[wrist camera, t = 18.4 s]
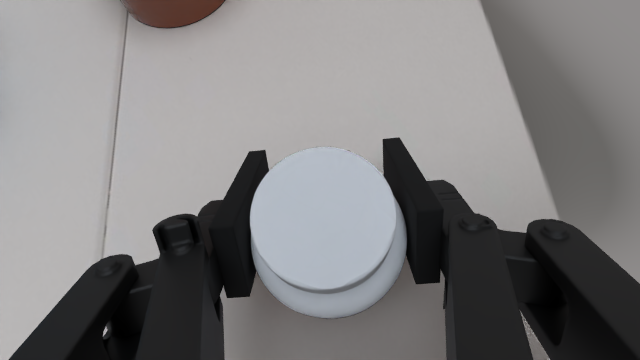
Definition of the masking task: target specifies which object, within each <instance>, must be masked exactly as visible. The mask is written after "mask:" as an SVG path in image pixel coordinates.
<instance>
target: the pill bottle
mask: <svg viewBox="0 0 640 360" xmlns="http://www.w3.org/2000/svg"><path fill="white" fill-rule="evenodd" d="M250 228H251V251H252V257H253V261H254V265H255V268H256V270H257V273H258V275H259V277H260V279H261V280H262V282H263V283H264V285H265V286H266V288H267V289H268V290H269V291H270V293H271V294H272V295H273V296H274V297H275V298H277V299H278V300H279V301H280V302H281V303H283V304H284V305H285V306H287V307H289V308H290V309H292V310H294V311H296V312H299V313H302V314H305V315H308V316H313V317H318V318H325V319H331V318H343V317H348V316H352V315H355V314H358V313H360V312H362V311H364V310H366V309H368V308H369V307H371V306H373V305H374V304H375V303H376V302H378V301H379V300H380V299H381V298H383V296H384V295H385V294H386V293H387V292H388V291H389V290H390V288H391V287H392V286H393V284H394V283H395V281H396V279H397V277H398V276H399V274H400V272H401V269H402V266H403V264H404V260H405V255H406V250H407V230H406V224H405V220H404V216H403V213H402V211H401V208H400V206H399V204H398V202H397V200H396V199H395V197H394V196H393V193H392V191H391V188H390V186H389V184H388V183H387V181H386V179H385V178H384V176H383V175H382V174H381V173H380V171H379V170H378V169H377V168H376V167H375V166H374V165H373V164H372V163H370V162H369V161H367V160H366V159H365V158H363V157H361V156H360V155H357V154H355V153H353V152H351V151H348V150H344V149H340V148H334V147H315V148H309V149H305V150H301V151H298V152H296V153H294V154H291V155H289V156H288V157H286V158H284V159H283V160H281V161H280V162H278V163H277V164H276V165H275V166H274V167H273V168H272V169H271V170H270V171H269V172H268V173H267V174H266V175H265V177H264V178H263V180H262V181H261V183H260V184H259V186H258V188H257V190H256V192H255V194H254V198H253V201H252V205H251V211H250Z"/></svg>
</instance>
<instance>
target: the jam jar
mask: <svg viewBox="0 0 640 360" xmlns="http://www.w3.org/2000/svg"><path fill="white" fill-rule="evenodd" d="M120 1H121V2H122V3H123V5H124V6H125V7H126V9H127V10H128V11H129V13H130V14H131V15H132V16H133V17H134V18H136V19H137V20H139V21H140V22H142V23H144V24H147V25H150V26H154V27H160V28H172V27H180V26H184V25H188V24H191V23H194V22H196V21H199V20H201V19H203V18H205V17H206V16H208V15H209V14H211V13H212V12H213V11H215V10H216V9H217V8H218V7H219V6H220V5H221V4H222V3H223V2H224V1H225V0H120Z"/></svg>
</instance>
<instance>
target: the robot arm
mask: <svg viewBox="0 0 640 360" xmlns="http://www.w3.org/2000/svg"><path fill="white" fill-rule="evenodd" d="M383 167H384V178H385V179H386V181H387V183H388V184H389V186H390V188H391V191H392V193H393V196H394V197H395V199H396V200H397V202H398V204H399V206H400V208H401V211H402V213H403V216H404V220H405V224H406V230H407V250H406V257H407V260H408V262H409V265H410V268H411V271H412V274H413V277H414V280H415V283H416V284H428V283H440V271H441V270H442V273H443V275H444V277H445V288H444V304H443V309H445V326H446V357H447V360H533V357H532V353H531V349H530V346H529V342H528V339H527V335H526V331H525V328H524V324H523V320H522V317H521V313H520V311H521V312H522V314H523V316H524V317H525V319H526V320H527V322H528V324H529V325H530V327H531V329H532V330H533V332H534V333H535V335H536V337H537V338H538V340H539V342H540V343H541V345H542V346H543V348H544V350H545V351H546V353H547V354H548V356H549V358H550V359H551V360H640V284H639V283H638V282H637V281H636V280H635V279H634V278H633V277H631V276H630V275H629V274H628V273H627V272H626V271H625V270H624V269H623V268H621V267H620V266H619V265H618V264H617V263H616V262H615V261H614V260H612V259H611V258H610V257H609V256H608V255H607V254H606V253H605V252H603V251H602V250H601V249H600V248H599V247H598V246H597V245H596V244H595V243H593V242H592V241H591V240H590V239H589V238H588V237H587V236H586V235H585V234H583V233H582V232H581V231H580V230H578V229H577V228H575V227H574V226H572V225H570V224H567V223H565V222H563V221H559V220H553V219H541V220H535V221H533V222H531V223H529V224H528V227H527V232H526V233H520V232H511V231H503V230H499V229H497V226H496V224H495V223H494V221H493V220H491V219H489V218H488V217H486V216H483V215H480V214H475V213H474V212H473V211H472V209H471V208H470V207H469V205H468V204H467V203H466V202H465V200H464V199H462V196H461V195H460V194H459V193H458V191H457V190H456V188H455V187H454V186H453V185H452V184H450V183H448V182H446V181H444V180H435V181H426V180H425V178H424V176H423V175H422V173H421V172H420V170H419V168H418V167H417V165H416V163H415V162H414V160H413V159H412V157H411V155H410V154H409V152H408V151H407V149H406V147H405V146H404V144H403V143H402V141H401V139H400V138H390V139H383ZM268 172H269V168H268V163H267V157H266V151H265V150H261V151H250V152H249V153H248V155H247V157H246V159H245V160H244V162H243V164H242V166H241V168H240V170H239V172H238V173H237V175H236V177H235V179H234V181H233V183H232V185H231V186H230V188H229V190H228V192H227V194H226V196H225V198H224V200H215V201H211V202H209V203H208V204H207V205H205V206H204V207H203V208H202V209H201V211H200V212H199V214H198V216H195V215H193V214H180V215H175V216H172V217H169V218H167V219H165V220H162V221H161V222H159V223H158V224H157V225H155V227H154V228H153V230H152V231H153V234H154V236H155V239H156V242H157V245H158V248H159V251H160V257H159V259H156V260H153V261H149V262H146V263H142V264H138V265H135V264H134V262H133V259H132V257H131V256H129V255H124V254H119V255H114V256H109V257H107V258H104V259H101V260H100V261H99V262H97V263H95V264H93V265H92V266H91V267H90V268H89V269H88V270H86V272H85V273H84V274H83V275H82V276H81V277H80V278H79V280H78V281H77V282H76V283H75V284H74V285H73V286H72V288H71V289H70V290H69V291H68V292H67V293H66V294H65V296H64V297H63V298H62V299H61V300H60V301H59V302H58V304H57V305H56V306H55V307H54V308H53V309H52V310H51V312H50V313H49V314H48V315H47V316H46V317H45V319H44V320H43V321H42V322H41V323H40V324H39V325H38V327H37V328H36V329H35V330H34V331H33V332H32V333H31V335H30V336H29V337H28V338H27V339H26V340H25V341H24V343H23V344H22V345H21V346H20V347H19V348H18V349H17V351H16V352H15V353H14V354H13V355H12V356H11V357H10V359H9V360H225V359H224V328H223V305H222V302H221V298H220V293H221V291H222V288H223V285H224V289H225V292H226V296H227V298H236V297H250V293H251V290H252V286H253V282H254V278H255V274H256V268H255V265H254V261H253V257H252V251H251V228H250V211H251V205H252V201H253V198H254V194H255V192H256V190H257V188H258V186H259V184H260V183H261V181H262V180H263V178H264V177H265V175H266V174H267V173H268ZM105 327H107V329H108V331H107V332H106V334H105V335H104V337H103V331H104V329H105Z"/></svg>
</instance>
